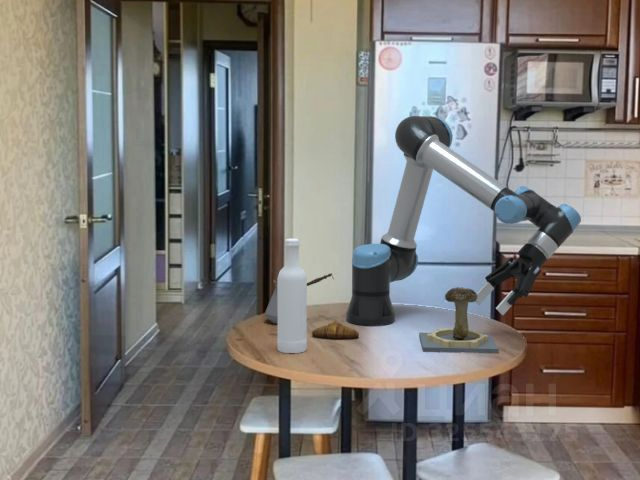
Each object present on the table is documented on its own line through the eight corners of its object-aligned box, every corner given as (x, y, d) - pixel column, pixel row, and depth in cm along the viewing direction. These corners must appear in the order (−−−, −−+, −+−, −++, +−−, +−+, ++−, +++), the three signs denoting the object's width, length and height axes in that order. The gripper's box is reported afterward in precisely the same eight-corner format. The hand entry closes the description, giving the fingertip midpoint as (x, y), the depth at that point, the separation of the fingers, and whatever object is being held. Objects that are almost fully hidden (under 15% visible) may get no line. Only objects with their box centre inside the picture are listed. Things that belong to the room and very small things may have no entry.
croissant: (359, 336, 227) (359, 319, 226) (358, 342, 220) (358, 324, 220) (313, 334, 229) (313, 317, 228) (310, 340, 222) (310, 323, 221)
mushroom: (453, 346, 211) (455, 291, 209) (437, 338, 218) (438, 285, 217) (483, 343, 214) (485, 289, 212) (466, 335, 222) (468, 283, 220)
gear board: (422, 351, 210) (423, 341, 209) (419, 336, 226) (419, 327, 225) (498, 353, 208) (498, 343, 208) (489, 338, 224) (489, 328, 224)
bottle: (303, 354, 206) (304, 241, 203) (274, 353, 208) (274, 240, 204) (309, 346, 214) (309, 237, 210) (280, 345, 215) (280, 236, 212)
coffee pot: (265, 326, 237) (265, 277, 235) (264, 317, 248) (264, 271, 246) (335, 325, 239) (336, 276, 237) (331, 316, 250) (331, 270, 248)
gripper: (570, 267, 209) (518, 325, 207) (522, 253, 233) (474, 306, 231) (554, 248, 207) (501, 307, 205) (506, 236, 231) (458, 289, 229)
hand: (487, 306), depth 218 cm, fingers open, 13 cm apart
